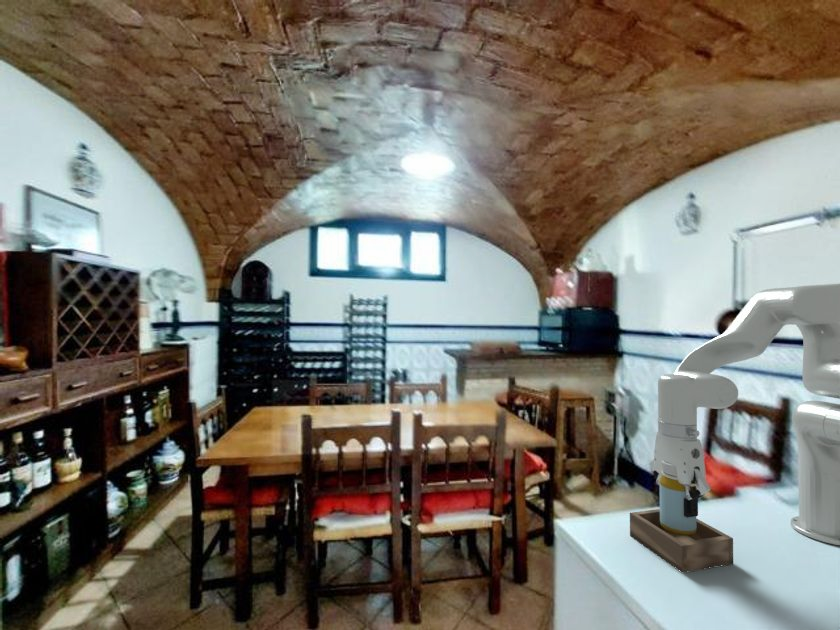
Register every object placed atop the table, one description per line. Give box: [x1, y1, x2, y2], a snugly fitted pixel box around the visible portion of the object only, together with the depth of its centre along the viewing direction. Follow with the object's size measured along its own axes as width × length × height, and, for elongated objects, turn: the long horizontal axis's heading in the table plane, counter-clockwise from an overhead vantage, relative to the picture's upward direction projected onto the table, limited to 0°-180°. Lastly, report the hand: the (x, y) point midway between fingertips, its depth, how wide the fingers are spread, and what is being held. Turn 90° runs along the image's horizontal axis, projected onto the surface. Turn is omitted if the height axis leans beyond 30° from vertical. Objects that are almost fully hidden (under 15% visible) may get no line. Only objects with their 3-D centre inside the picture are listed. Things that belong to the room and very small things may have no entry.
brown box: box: [629, 508, 734, 573], centre depth 94 cm, size 13×15×6 cm
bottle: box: [659, 461, 697, 536], centre depth 94 cm, size 7×7×15 cm
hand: (677, 508), depth 94 cm, fingers closed on bottle, 6 cm apart
